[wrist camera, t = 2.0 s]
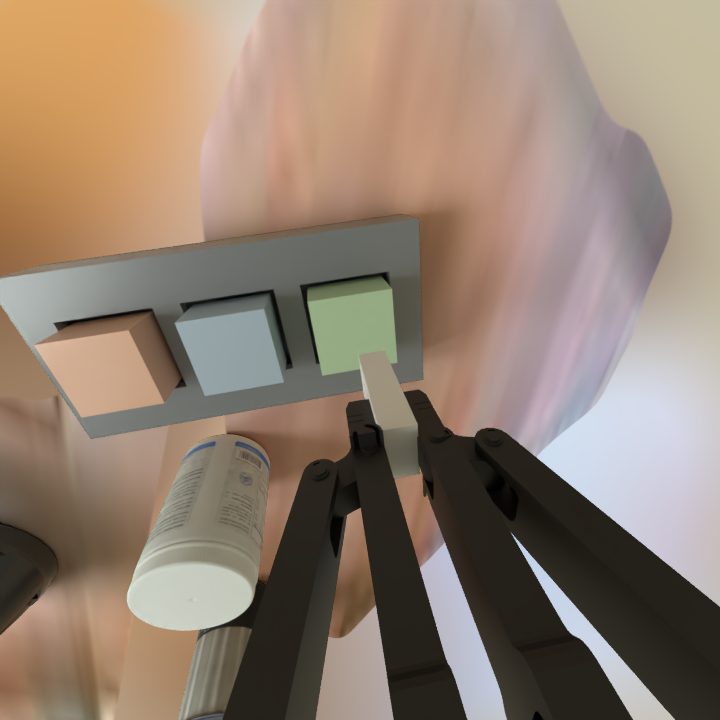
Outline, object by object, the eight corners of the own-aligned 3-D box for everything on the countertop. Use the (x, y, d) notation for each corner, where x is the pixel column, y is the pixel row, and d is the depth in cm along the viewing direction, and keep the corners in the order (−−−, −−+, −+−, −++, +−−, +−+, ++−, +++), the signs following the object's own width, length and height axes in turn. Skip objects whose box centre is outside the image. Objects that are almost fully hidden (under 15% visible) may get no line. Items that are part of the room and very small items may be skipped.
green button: (320, 353, 29) (322, 375, 25) (307, 287, 26) (307, 302, 22) (386, 342, 29) (397, 362, 26) (380, 275, 26) (392, 288, 23)
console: (119, 405, 33) (90, 438, 28) (38, 265, 26) (-16, 280, 22) (408, 355, 35) (423, 379, 30) (401, 214, 28) (418, 218, 24)
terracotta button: (110, 388, 28) (81, 417, 24) (72, 323, 25) (33, 345, 21) (182, 376, 28) (164, 403, 24) (153, 310, 25) (128, 330, 22)
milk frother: (209, 574, 47) (172, 721, 34) (316, 577, 51) (319, 710, 38) (200, 626, 53) (164, 769, 40) (296, 625, 57) (293, 755, 44)
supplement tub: (192, 493, 39) (136, 640, 27) (178, 431, 35) (103, 571, 22) (274, 488, 41) (259, 624, 28) (270, 428, 37) (250, 557, 24)
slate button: (217, 370, 28) (205, 396, 25) (193, 304, 25) (174, 323, 22) (286, 358, 29) (283, 382, 25) (269, 292, 26) (263, 308, 22)
